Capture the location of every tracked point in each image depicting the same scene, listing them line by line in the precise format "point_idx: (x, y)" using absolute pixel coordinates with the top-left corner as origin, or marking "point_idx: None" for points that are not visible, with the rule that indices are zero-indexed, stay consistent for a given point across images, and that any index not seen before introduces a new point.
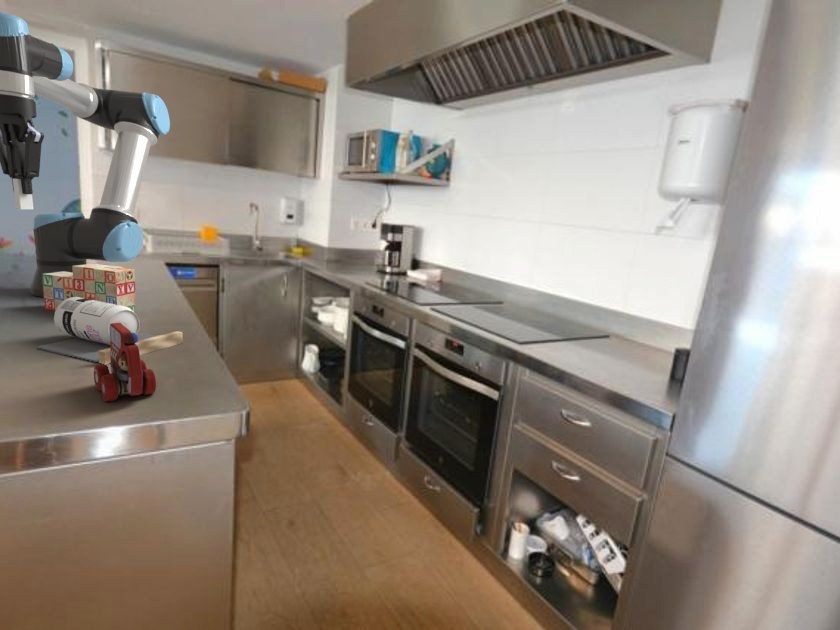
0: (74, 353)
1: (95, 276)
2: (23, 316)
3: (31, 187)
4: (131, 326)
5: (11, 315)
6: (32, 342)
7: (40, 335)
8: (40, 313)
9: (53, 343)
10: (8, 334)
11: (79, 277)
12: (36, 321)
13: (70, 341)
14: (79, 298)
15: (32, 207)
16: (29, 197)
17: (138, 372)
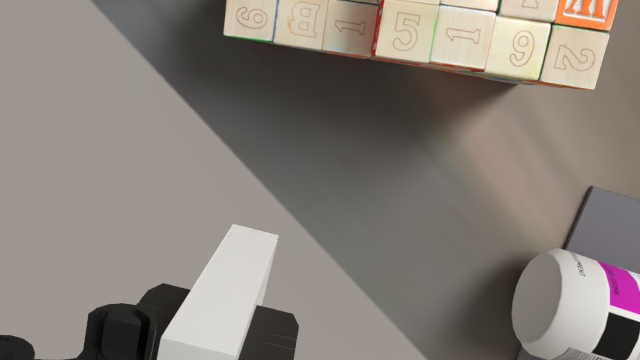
0: None
1: (483, 73)
2: (268, 140)
3: (293, 354)
4: None
5: (234, 141)
6: (467, 340)
7: (443, 288)
8: (277, 90)
9: (525, 352)
10: (375, 302)
11: (402, 61)
12: (338, 176)
13: None
14: (592, 335)
15: (275, 246)
16: (261, 290)
17: None
